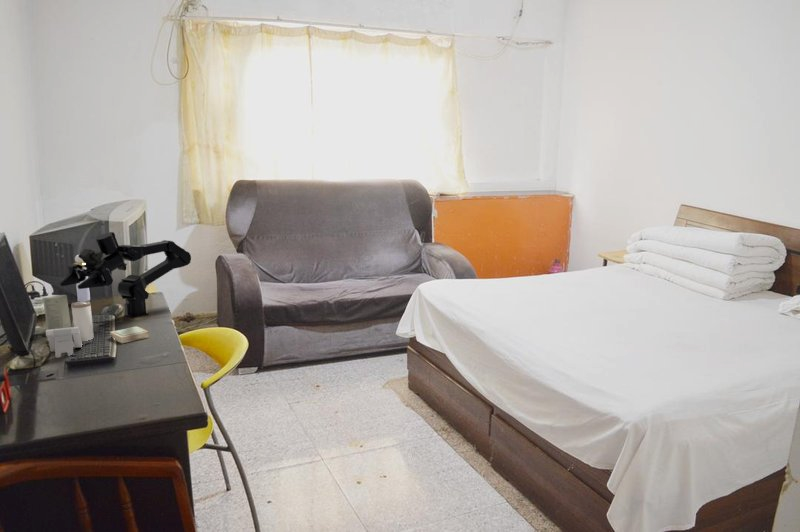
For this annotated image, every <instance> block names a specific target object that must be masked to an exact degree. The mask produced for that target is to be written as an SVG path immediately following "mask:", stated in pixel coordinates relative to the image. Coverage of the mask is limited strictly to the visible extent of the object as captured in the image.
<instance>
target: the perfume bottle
mask: <svg viewBox="0 0 800 532" xmlns="http://www.w3.org/2000/svg"><path fill="white" fill-rule="evenodd" d="M78 255H79V254H77V255H76V256H74V261H75V263H73V264H78V265H81V266H82V268H83V269H87V268H85V266H84V264H86V263H85V262H84V261H83V260H82V259H81V258H79V256H78ZM88 278H89V276H86V279H88ZM86 279H85V280H86ZM85 280H84V281H85ZM82 282H83V281H81V282H80V283H77V284H75V287H76V296H77V297H76V298H77V302H80V301H89V302H90V300H91V293H90V288H84V289H78V285H80V284H81V283H82Z"/></svg>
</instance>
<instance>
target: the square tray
mask: <svg viewBox="0 0 800 532" xmlns="http://www.w3.org/2000/svg"><path fill="white" fill-rule="evenodd" d="M109 334H111V335H112V336H113V337H114V338H115V340H114V341H116V342H119V343H120V344H125V343H129V342H134V341H138V340H143V339H147V338H148V339H149V338H150V331H148V330H146V329H145V328H142V327H139V326H132V327H127V328H124V329H123V328H122V329H118V330H114V331H113V330H112V331H110V332H109Z"/></svg>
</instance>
